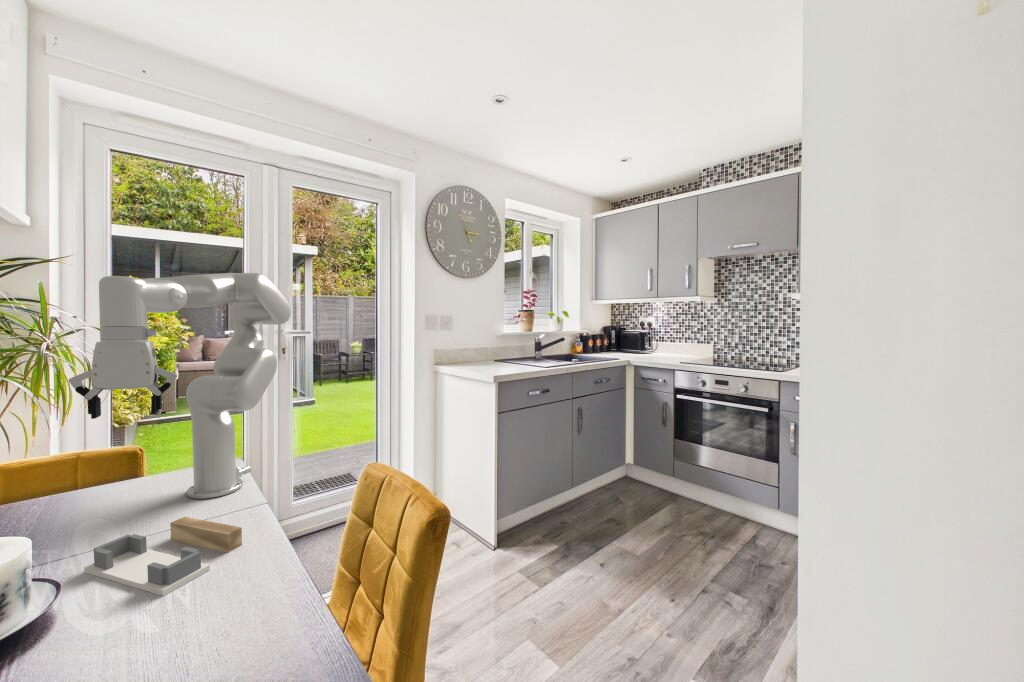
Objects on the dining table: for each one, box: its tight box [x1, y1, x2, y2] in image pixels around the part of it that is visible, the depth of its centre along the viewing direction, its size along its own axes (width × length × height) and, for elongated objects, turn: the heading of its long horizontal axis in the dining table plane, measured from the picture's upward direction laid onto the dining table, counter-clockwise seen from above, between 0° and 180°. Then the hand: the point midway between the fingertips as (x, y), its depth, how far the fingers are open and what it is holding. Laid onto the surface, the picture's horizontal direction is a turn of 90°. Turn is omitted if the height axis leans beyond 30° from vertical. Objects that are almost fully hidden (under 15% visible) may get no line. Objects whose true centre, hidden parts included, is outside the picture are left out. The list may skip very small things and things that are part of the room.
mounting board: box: [83, 533, 211, 597], centre depth 80 cm, size 8×21×4 cm, turn 72°
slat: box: [170, 516, 243, 553], centre depth 90 cm, size 3×16×4 cm, turn 73°
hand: (126, 415), depth 92 cm, fingers open, 9 cm apart
